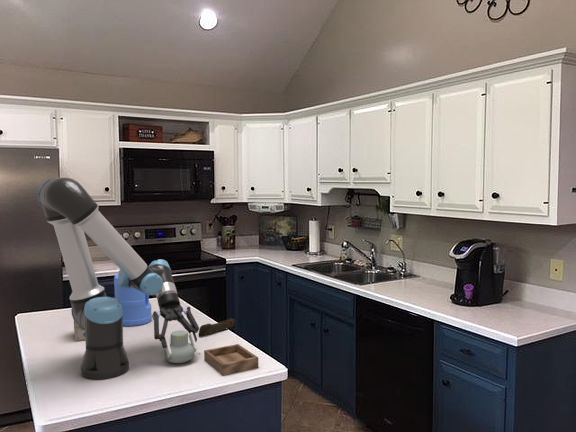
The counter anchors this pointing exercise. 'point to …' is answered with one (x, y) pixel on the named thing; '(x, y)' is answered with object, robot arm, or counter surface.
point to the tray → (230, 359)
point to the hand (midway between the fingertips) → (182, 353)
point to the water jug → (133, 305)
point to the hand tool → (216, 327)
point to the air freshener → (180, 347)
